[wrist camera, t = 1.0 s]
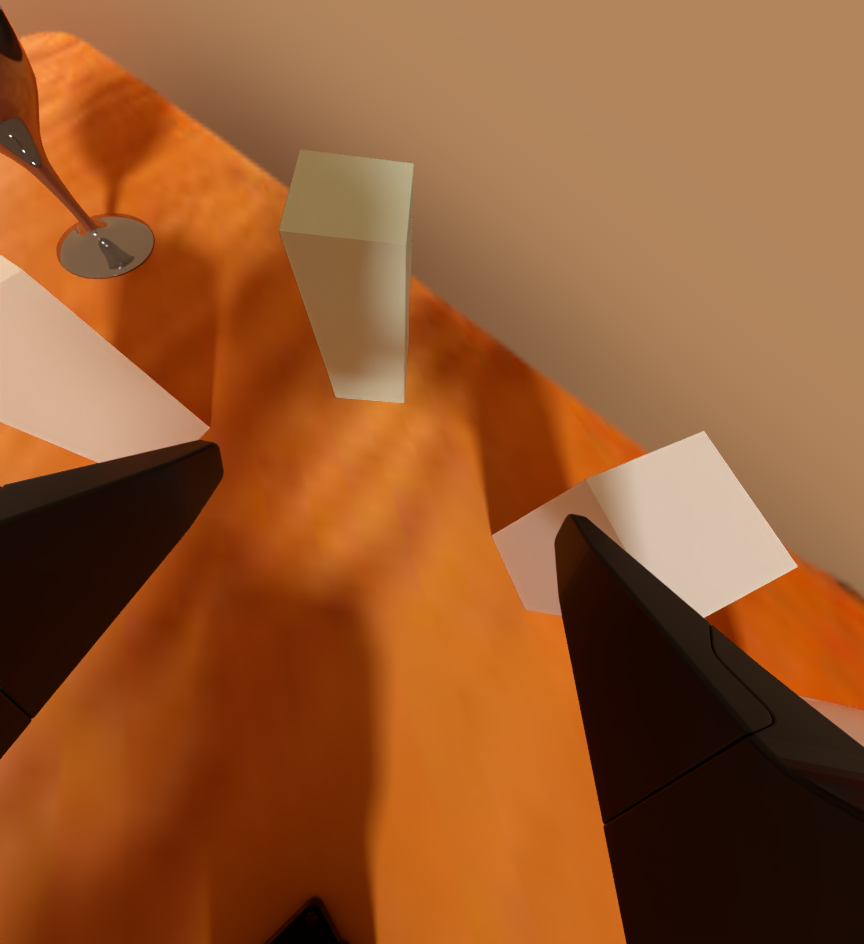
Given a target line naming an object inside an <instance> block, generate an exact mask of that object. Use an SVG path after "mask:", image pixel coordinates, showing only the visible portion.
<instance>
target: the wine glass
mask: <svg viewBox="0 0 864 944" xmlns="http://www.w3.org/2000/svg"><path fill="white" fill-rule="evenodd" d="M0 153H2V154H3V155H5V156H7V157H9V158H11V159H12V160H14V161H15V162H17V163H18V164H20V165H21V166H23V167H24V168H26V169H27V170H28V171H29V172H31V173H32V174H33V175H34V176H35V177H36V178H37V179H38V180H39V181H40V182H42V183H43V184H44V185H45V186H46V187H47V188H48V189H49V190H50V191H51V192H52V193H53V194H54V195H55V196H56V197H57V198H58V199H59V200H60V201H61V202H62V203H63V204H64V205H65V206H66V207H67V208H68V209H69V210H70V212H71V213H72V214H73V215H74V216H75V217H76V218H77V220H78V221H79V222H78V223H76V224H74V225H73V226H71V227H70V228H69V229H68V230H67V231H66V232H64V234H63V235H62V236H61V238H60V240H59V242H58V244H57V249H56V251H57V257H58V260H59V262H60V263H61V265H62V266H63V267H64V268H65V269H66V270H67V271H69V272H71V273H72V274H75V275H77V276H80V277H85V278H92V279H103V278H110V277H115V276H119V275H122V274H125V273H127V272H129V271H131V270H133V269H135V268H136V267H138V266H139V265H140V264H142V263H143V262H144V261H145V260H146V259H147V258H148V256H149V255H150V253H151V252H152V249H153V246H154V235H153V233H152V231H151V229H150V228H149V227H148V225H146V224H145V223H144V222H143V221H141V220H139V219H138V218H135V217H133V216H130V215H125V214H117V213H111V214H101V215H96V216H92V217H89V216H88V215H87V214H86V213H85V211H84V210H83V209H82V208H81V207H80V205H79V204H78V203H77V202H76V200H75V199H74V198H73V196H72V195H71V194H70V192H69V191H68V189H67V188H66V187H65V185H64V184H63V182H62V181H61V179H60V178H59V177H58V175H57V174H56V172H55V171H54V169H53V167H52V166H51V164H50V162H49V161H48V158H47V156H46V154H45V151H44V148H43V145H42V140H41V135H40V124H39V100H38V88H37V83H36V77H35V74H34V72H33V69H32V67H31V64H30V62H29V59H28V57H27V54H26V52H25V50H24V48H23V46H22V44H21V42H20V40H19V38H18V36H17V35H16V33H15V31H14V29H13V27H12V25H11V23H10V21H9V19H8V18H7V16H6V14H5V12H4V11H3V9H2V7H1V6H0Z"/></svg>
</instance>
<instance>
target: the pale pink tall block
mask: <svg viewBox="0 0 864 944" xmlns="http://www.w3.org/2000/svg"><path fill="white" fill-rule="evenodd" d="M568 514H576V515H581V516H585V517H587V518H588V519H589V520H590V521H591V522H592V523H594V524H595V525H596V526H597V527H598V528H599V529H601V530H602V531H603V532H604V533H605V534H606V535H608V536H609V537H610V538H611V539H612V540H613V541H615V542H616V543H617V544H618V545H619V546H620V547H622V548H623V549H624V550H625V551H626V552H627V553H629V554H630V555H631V556H632V557H633V558H634V559H636V560H637V561H638V562H639V563H640V564H641V565H643V566H644V567H645V568H646V569H647V570H648V571H650V572H651V573H652V574H653V575H654V576H655V577H657V578H658V579H659V580H660V581H661V582H663V583H664V584H665V585H666V586H667V587H668V588H670V589H671V590H672V591H673V592H674V593H675V594H677V595H678V596H679V597H680V598H681V599H682V600H684V601H685V602H686V603H687V604H688V605H689V606H691V607H692V608H693V609H694V610H695V611H696V612H698V613H699V614H700V615H701V616H702V617H703V618H705V617H707V616H708V615H710V614H712V613H714V612H716V611H718V610H719V609H721V608H723V607H725V606H727V605H729V604H730V603H732V602H734V601H736V600H738V599H740V598H741V597H743V596H745V595H747V594H749V593H751V592H752V591H754V590H756V589H758V588H760V587H762V586H763V585H765V584H767V583H769V582H771V581H773V580H774V579H776V578H778V577H780V576H782V575H784V574H785V573H787V572H789V571H791V570H793V569H795V568H796V567H798V566H797V565H796V563H795V562H794V560H793V559H792V558H791V556H790V555H789V553H788V552H787V550H786V549H785V547H784V546H783V545H782V543H781V542H780V540H779V539H778V537H777V536H776V534H775V533H774V532H773V530H772V529H771V527H770V526H769V524H768V523H767V522H766V520H765V519H764V517H763V516H762V514H761V513H760V511H759V510H758V508H757V507H756V506H755V504H754V503H753V501H752V500H751V498H750V497H749V496H748V494H747V493H746V491H745V490H744V488H743V487H742V485H741V484H740V483H739V481H738V480H737V478H736V477H735V475H734V474H733V472H732V471H731V469H730V468H729V467H728V465H727V464H726V462H725V461H724V459H723V458H722V456H721V455H720V454H719V452H718V451H717V449H716V448H715V446H714V445H713V443H712V442H711V441H710V439H709V438H708V436H707V435H706V433H705V432H704V431H703V432H700V433H698V434H695V435H693V436H690V437H688V438H685V439H683V440H681V441H678V442H676V443H673V444H671V445H668V446H666V447H663V448H661V449H659V450H656V451H654V452H651V453H649V454H646V455H644V456H641V457H639V458H637V459H634V460H632V461H629V462H627V463H624V464H622V465H619V466H617V467H614V468H612V469H610V470H607V471H605V472H602V473H600V474H597V475H595V476H592V477H590V478H588V479H585V480H584V481H582V482H580V483H579V484H577V485H575V486H574V487H572V488H570V489H569V490H567V491H565V492H564V493H562V494H560V495H559V496H557V497H555V498H553V499H552V500H550V501H548V502H547V503H545V504H543V505H542V506H540V507H538V508H537V509H535V510H533V511H532V512H530V513H528V514H527V515H525V516H523V517H522V518H520V519H518V520H517V521H515V522H513V523H512V524H510V525H508V526H507V527H505V528H503V529H502V530H500V531H498V532H497V533H495V534H493V535H492V538H493V540H494V542H495V544H496V546H497V549H498V551H499V553H500V555H501V557H502V560H503V562H504V564H505V566H506V568H507V570H508V573H509V575H510V577H511V579H512V581H513V584H514V586H515V588H516V590H517V592H518V595H519V597H520V599H521V601H522V603H523V606H524V608H525V610H530V611H535V612H541V613H547V614H553V615H559V616H562V614H561V609H560V603H559V596H558V586H557V573H556V561H555V548H554V542H555V538H556V535H557V533H558V531H559V529H560V527H561V525H562V523H563V521H564V519H565V518H566V516H567V515H568Z"/></svg>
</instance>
